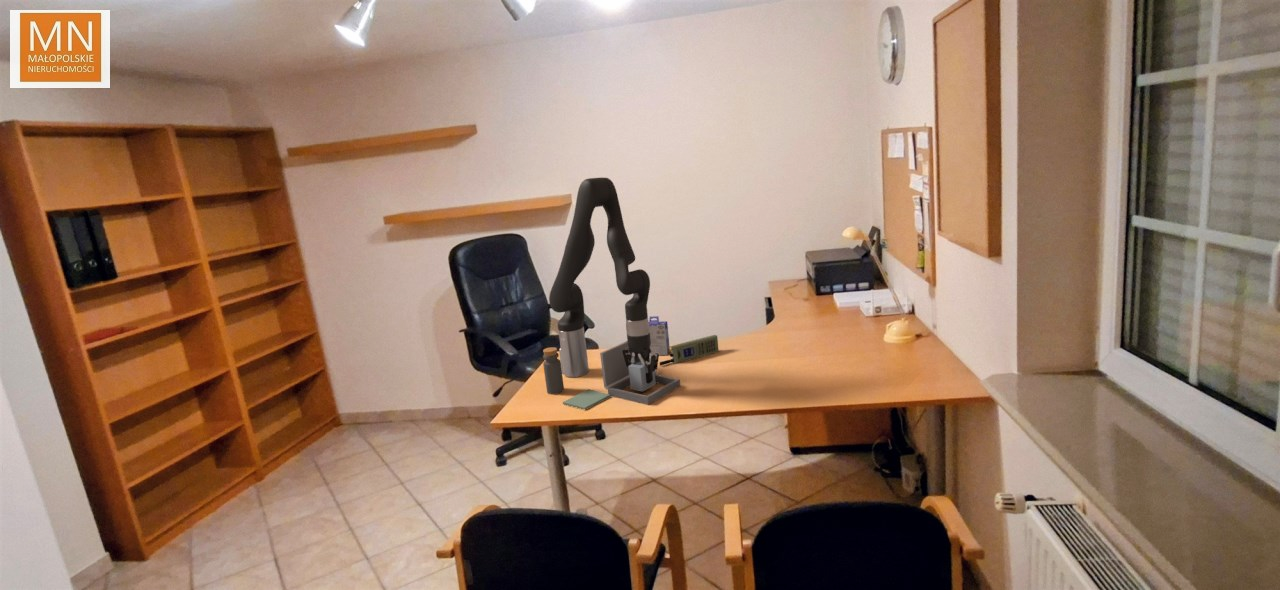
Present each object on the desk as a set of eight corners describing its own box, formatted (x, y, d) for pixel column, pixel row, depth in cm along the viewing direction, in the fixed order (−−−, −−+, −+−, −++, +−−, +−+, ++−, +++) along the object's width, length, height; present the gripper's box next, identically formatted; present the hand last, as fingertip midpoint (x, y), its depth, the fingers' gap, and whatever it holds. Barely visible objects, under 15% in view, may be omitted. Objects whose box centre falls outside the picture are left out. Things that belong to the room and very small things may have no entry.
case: (648, 404, 196) (643, 360, 193) (604, 394, 208) (600, 352, 205) (682, 385, 210) (679, 343, 206) (640, 376, 221) (636, 337, 218)
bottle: (557, 386, 220) (551, 345, 216) (567, 390, 215) (562, 348, 212) (543, 392, 216) (537, 350, 212) (554, 395, 212) (548, 353, 208)
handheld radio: (720, 352, 239) (662, 368, 228) (715, 351, 242) (658, 366, 231) (718, 335, 237) (660, 350, 227) (713, 334, 240) (656, 348, 230)
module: (630, 388, 207) (628, 365, 205) (644, 381, 212) (642, 359, 210) (642, 391, 204) (640, 368, 202) (655, 384, 209) (653, 361, 207)
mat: (562, 404, 203) (562, 402, 203) (588, 391, 212) (588, 389, 212) (584, 410, 197) (584, 407, 197) (610, 396, 206) (610, 394, 206)
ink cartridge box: (670, 350, 246) (667, 315, 243) (668, 355, 241) (665, 319, 237) (645, 351, 248) (642, 316, 245) (643, 356, 243) (639, 320, 239)
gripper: (614, 332, 205) (619, 381, 209) (648, 337, 196) (652, 389, 200) (629, 326, 211) (633, 373, 215) (662, 331, 202) (667, 381, 205)
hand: (642, 380), depth 207 cm, fingers closed on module, 5 cm apart
